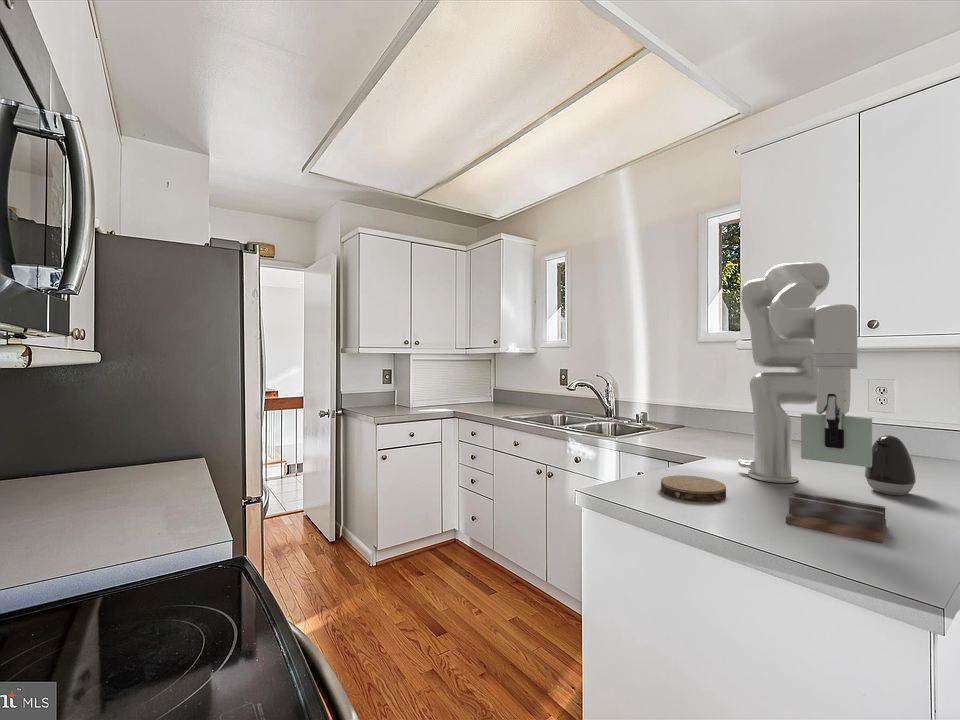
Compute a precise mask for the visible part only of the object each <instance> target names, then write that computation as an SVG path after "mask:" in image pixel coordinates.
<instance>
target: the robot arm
mask: <svg viewBox="0 0 960 720" xmlns="http://www.w3.org/2000/svg"><path fill="white" fill-rule="evenodd" d="M829 283H830V273H829V270H828V268H827V267H826V265H824V264H823V263H821V262H817V261H816V262H815V261H813V262H812V261H811V262H792V263H791V262H789V263H781V264H777V265H774V266H773V267H771V268H770V269H768V271H766V273H765V276H764V278H763V277H762V278H756V279H752V280H749V281H747V282H745V284H744V285H743V286H742V288H741V294H740V295H741V296H740V297H741V298H740V299H741V305H742V309H743V312H744V314H745V316H746V319H747V321H748V324H749V327H750V329H749V330H750V338H751V339H750V340H751V350H752V351H751V352H752V358H753V362H754V364H755V366H757V367H758V368H762V369H791V370H792V369H793V370H794V372H792V371H790V372H787V371H786V372H785V371H765V372H759V373H757V374H755V375H753V376H752V377H751V379H750V382H749V390H750V391H749V392H750V395H751V396H750V397H751V403H752V413H753V414H752V415H753V459H751V460H750V461H749V460H746V459H745V460H744V459H738V467H740V468H747V469H749V470H748V471H747V476H748V477H750V478H751V479H755V480H758V481H761V482H766V483H767V482H769V483H776V484H790V483H797V482H798V480H799V477H798V475H797V474H794V473H792V420H791V417H790V416H789V414H788V413H787V412H786V411H785V409H784V408H783V407H782V406H784V405H785V406H786V405H796V406H798V405H799V406H800V405H805V406H806V405H813V404H815V403H816V408H815V409H816V414H824V415H825V416H826V428H825V446H826V447H829V448H839V449H843V448H844V430H842V416H846V414H848V413H849V412H850V406H851V385H852V384H851V381H852V380H851V379H852V378H851V370H857V369H858V310H857V308H856V306H855V305H852V304H846V303H843V304H842V303H841V304H839V303H838V304H829V305H828V304H826V305H820V306H818V307H811V306H812V305H814V303H815V301H816V300H817V297H818V296H819V295H821V294H822V293H824V291H825V290H826V289H827V287H828V285H829Z"/></svg>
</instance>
